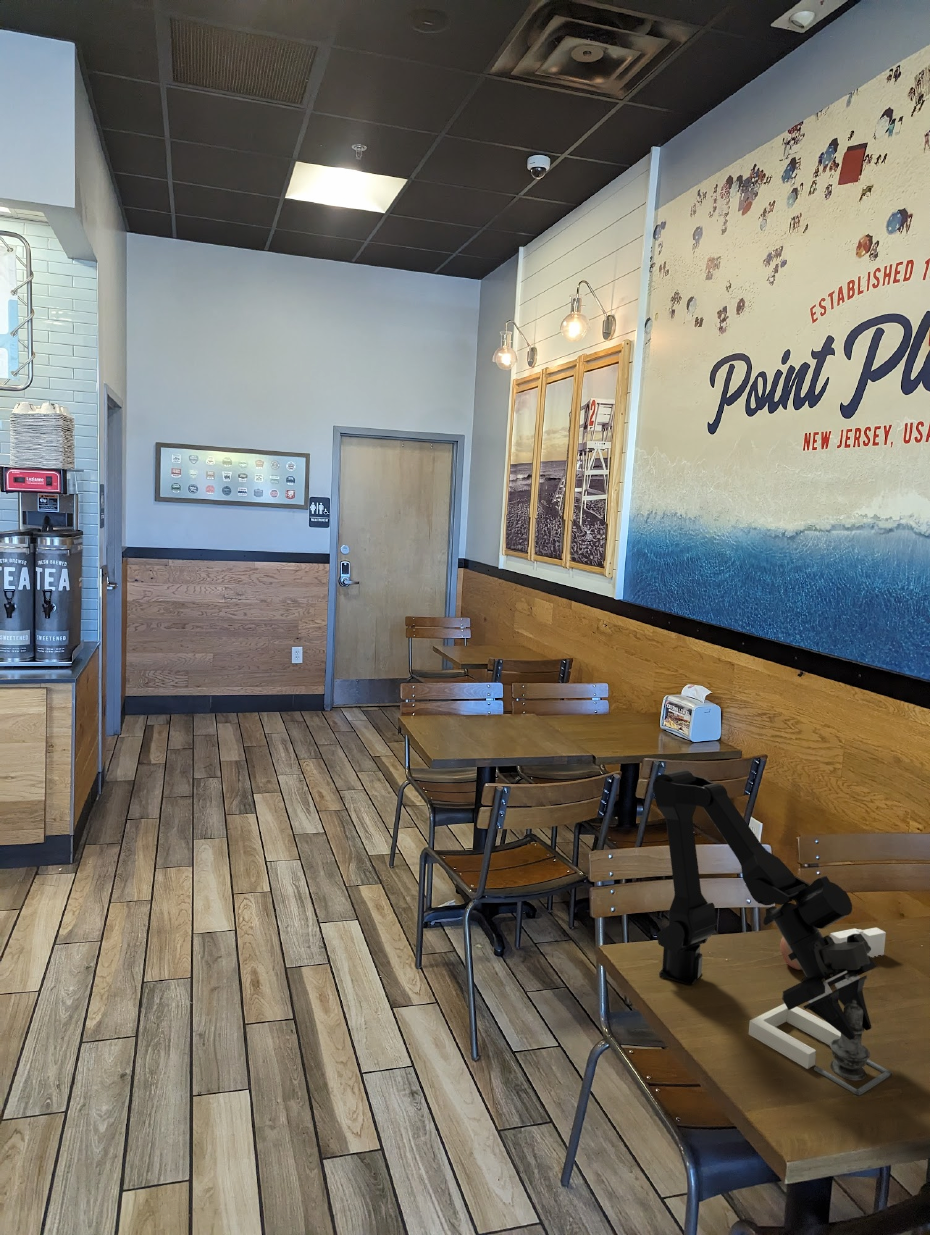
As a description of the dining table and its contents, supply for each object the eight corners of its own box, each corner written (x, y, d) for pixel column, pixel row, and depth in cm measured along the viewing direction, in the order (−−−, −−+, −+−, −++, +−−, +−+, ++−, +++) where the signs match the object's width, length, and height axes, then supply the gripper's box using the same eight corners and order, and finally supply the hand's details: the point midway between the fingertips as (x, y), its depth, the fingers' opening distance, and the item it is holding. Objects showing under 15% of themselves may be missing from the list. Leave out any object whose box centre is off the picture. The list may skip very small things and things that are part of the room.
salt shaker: (872, 1084, 136) (879, 1012, 135) (832, 1078, 137) (838, 1006, 136) (863, 1062, 142) (869, 992, 140) (824, 1056, 143) (831, 987, 142)
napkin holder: (823, 965, 174) (826, 938, 173) (816, 940, 185) (819, 914, 184) (905, 978, 170) (908, 951, 169) (893, 951, 181) (896, 925, 180)
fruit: (776, 954, 177) (779, 917, 176) (817, 959, 175) (820, 922, 174) (782, 974, 169) (785, 935, 168) (825, 980, 167) (829, 940, 167)
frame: (814, 1069, 139) (814, 1067, 139) (847, 1050, 145) (847, 1048, 145) (858, 1096, 133) (859, 1093, 133) (891, 1074, 139) (891, 1072, 139)
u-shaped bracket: (748, 1034, 148) (749, 1020, 148) (786, 1014, 155) (787, 1001, 154) (807, 1069, 139) (808, 1054, 139) (845, 1046, 146) (846, 1032, 145)
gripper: (805, 934, 134) (866, 1037, 127) (870, 907, 145) (930, 1000, 138) (758, 960, 142) (813, 1059, 134) (823, 932, 153) (878, 1022, 145)
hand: (861, 1034), depth 137 cm, fingers open, 4 cm apart
